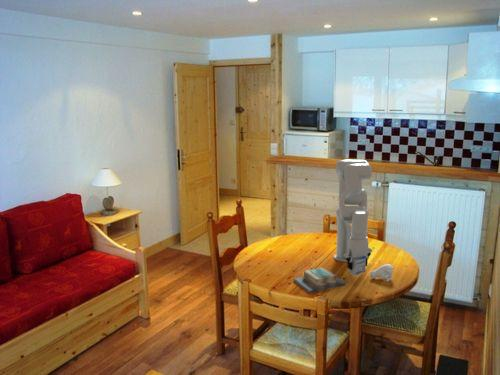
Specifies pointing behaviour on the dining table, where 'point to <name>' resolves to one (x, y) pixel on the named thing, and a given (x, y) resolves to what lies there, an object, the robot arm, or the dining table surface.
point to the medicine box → (358, 265)
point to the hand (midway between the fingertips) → (357, 267)
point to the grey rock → (383, 272)
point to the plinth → (314, 289)
